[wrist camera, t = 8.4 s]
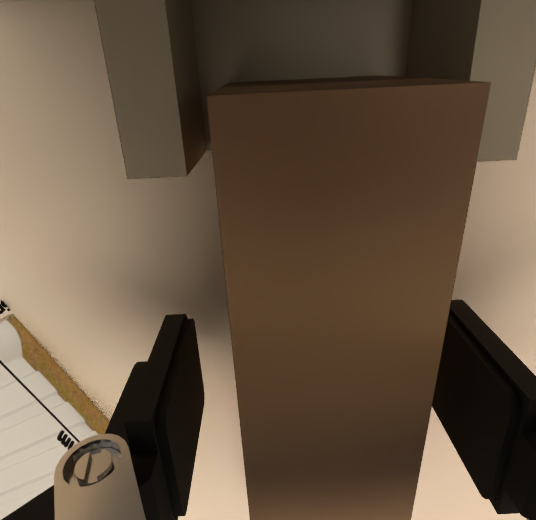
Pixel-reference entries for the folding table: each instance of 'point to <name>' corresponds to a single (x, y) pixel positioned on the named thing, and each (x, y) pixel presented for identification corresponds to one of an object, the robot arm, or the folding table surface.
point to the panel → (301, 61)
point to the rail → (340, 279)
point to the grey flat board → (36, 416)
